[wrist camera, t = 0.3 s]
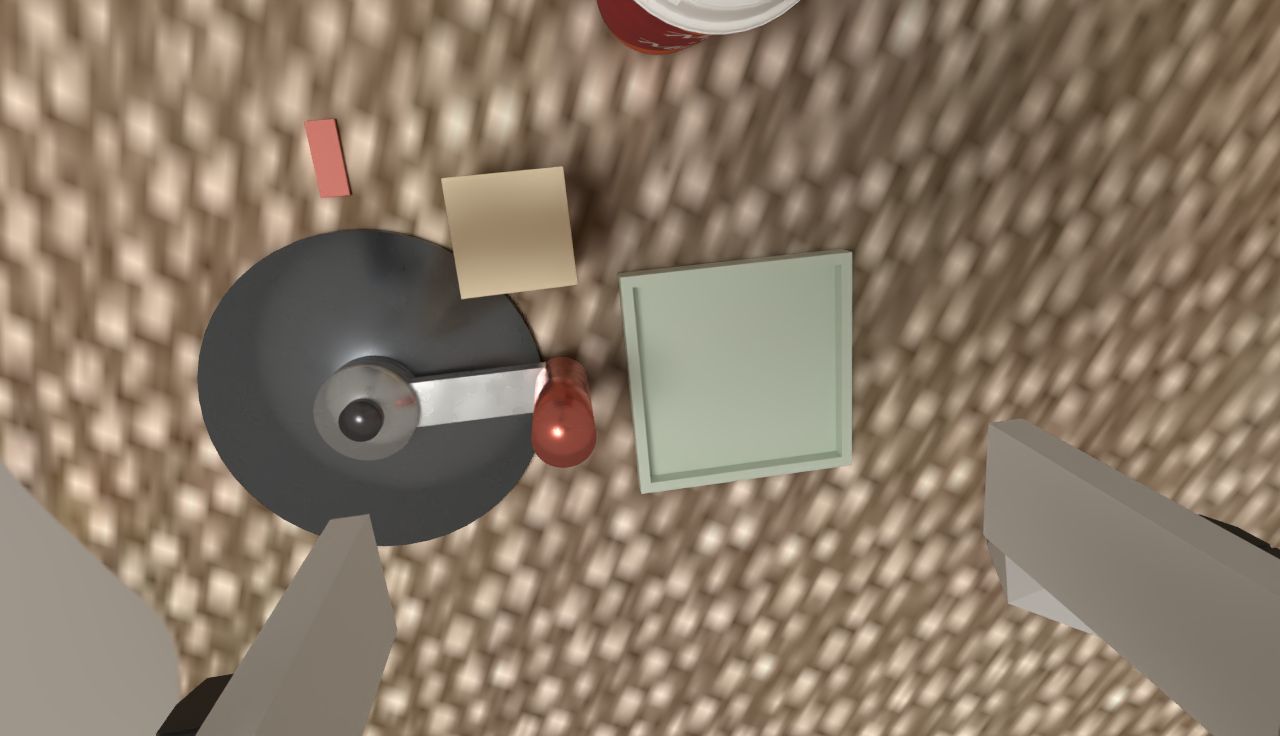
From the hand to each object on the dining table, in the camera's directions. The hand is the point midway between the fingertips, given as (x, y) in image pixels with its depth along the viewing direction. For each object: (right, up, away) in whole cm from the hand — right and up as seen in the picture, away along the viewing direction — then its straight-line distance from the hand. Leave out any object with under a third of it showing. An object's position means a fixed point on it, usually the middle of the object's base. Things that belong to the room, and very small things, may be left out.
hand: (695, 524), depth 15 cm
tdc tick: (-17, +14, +20) cm, 29 cm away
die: (+24, -7, +31) cm, 40 cm away
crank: (-11, +2, +23) cm, 26 cm away
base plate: (-15, +2, +24) cm, 28 cm away
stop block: (-8, +11, +22) cm, 25 cm away
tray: (+4, +3, +26) cm, 26 cm away
